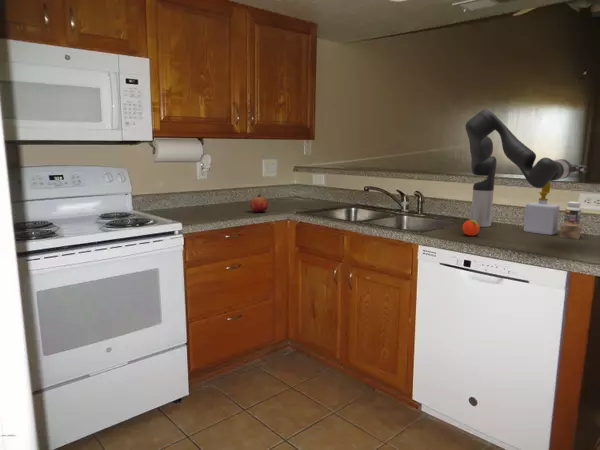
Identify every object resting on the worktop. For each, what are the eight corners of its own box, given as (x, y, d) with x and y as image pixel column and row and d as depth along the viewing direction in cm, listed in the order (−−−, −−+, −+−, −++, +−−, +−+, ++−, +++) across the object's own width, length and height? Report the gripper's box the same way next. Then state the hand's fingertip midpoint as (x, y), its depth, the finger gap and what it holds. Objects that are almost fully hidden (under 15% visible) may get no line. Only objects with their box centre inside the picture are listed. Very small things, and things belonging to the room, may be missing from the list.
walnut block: (559, 237, 190) (560, 225, 189) (561, 234, 195) (562, 223, 194) (578, 239, 186) (580, 227, 185) (580, 236, 191) (581, 225, 190)
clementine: (483, 237, 189) (485, 221, 188) (469, 238, 188) (470, 221, 187) (472, 233, 197) (474, 217, 196) (458, 234, 196) (459, 218, 194)
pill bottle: (561, 225, 189) (564, 202, 188) (565, 223, 193) (568, 201, 192) (577, 227, 185) (579, 203, 184) (580, 225, 189) (583, 202, 187)
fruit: (272, 212, 256) (271, 194, 254) (259, 214, 249) (258, 196, 247) (259, 210, 264) (259, 193, 262) (246, 212, 256) (246, 194, 255)
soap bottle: (522, 231, 202) (527, 179, 198) (528, 229, 206) (533, 179, 202) (551, 235, 193) (557, 181, 189) (557, 233, 198) (563, 180, 193)
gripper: (580, 160, 160) (592, 158, 172) (537, 159, 170) (551, 157, 182) (577, 181, 162) (589, 178, 173) (535, 178, 172) (549, 175, 183)
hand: (570, 167), depth 177 cm, fingers open, 8 cm apart
